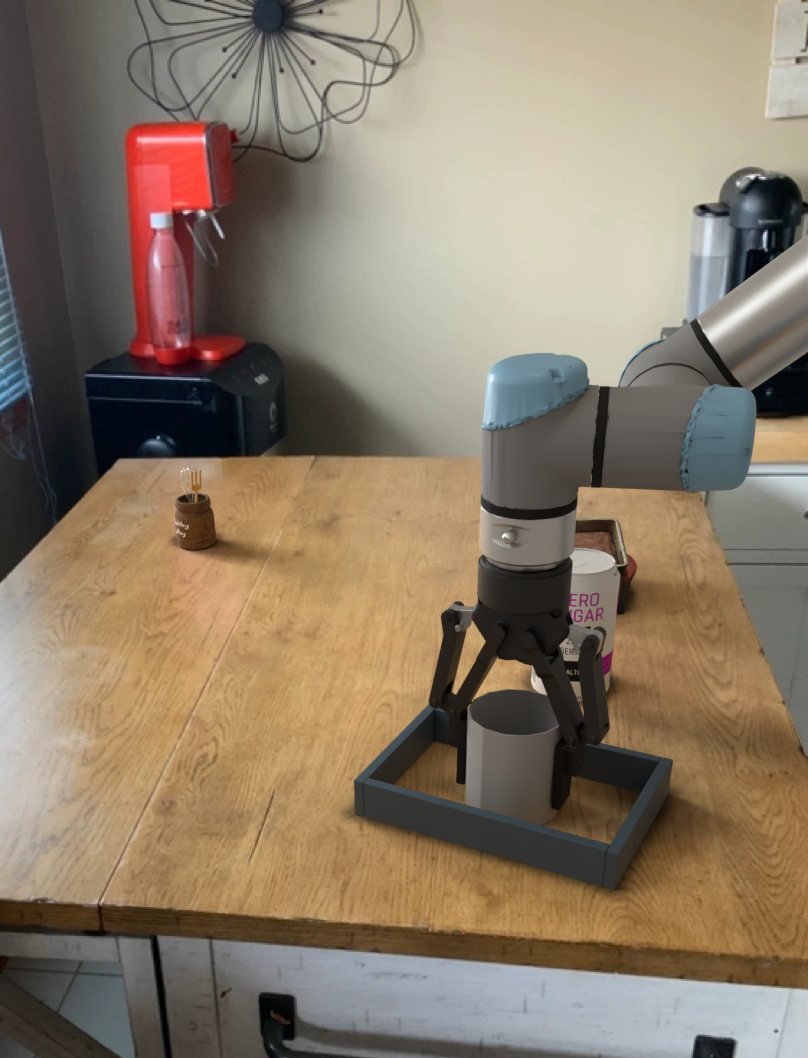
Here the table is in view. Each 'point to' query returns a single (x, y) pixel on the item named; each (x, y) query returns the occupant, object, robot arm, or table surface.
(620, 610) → the baking dish
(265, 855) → the table surface
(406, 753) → the dark grey open frame
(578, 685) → the supplement can
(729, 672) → the table surface
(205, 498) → the utensil holder
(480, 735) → the cup
